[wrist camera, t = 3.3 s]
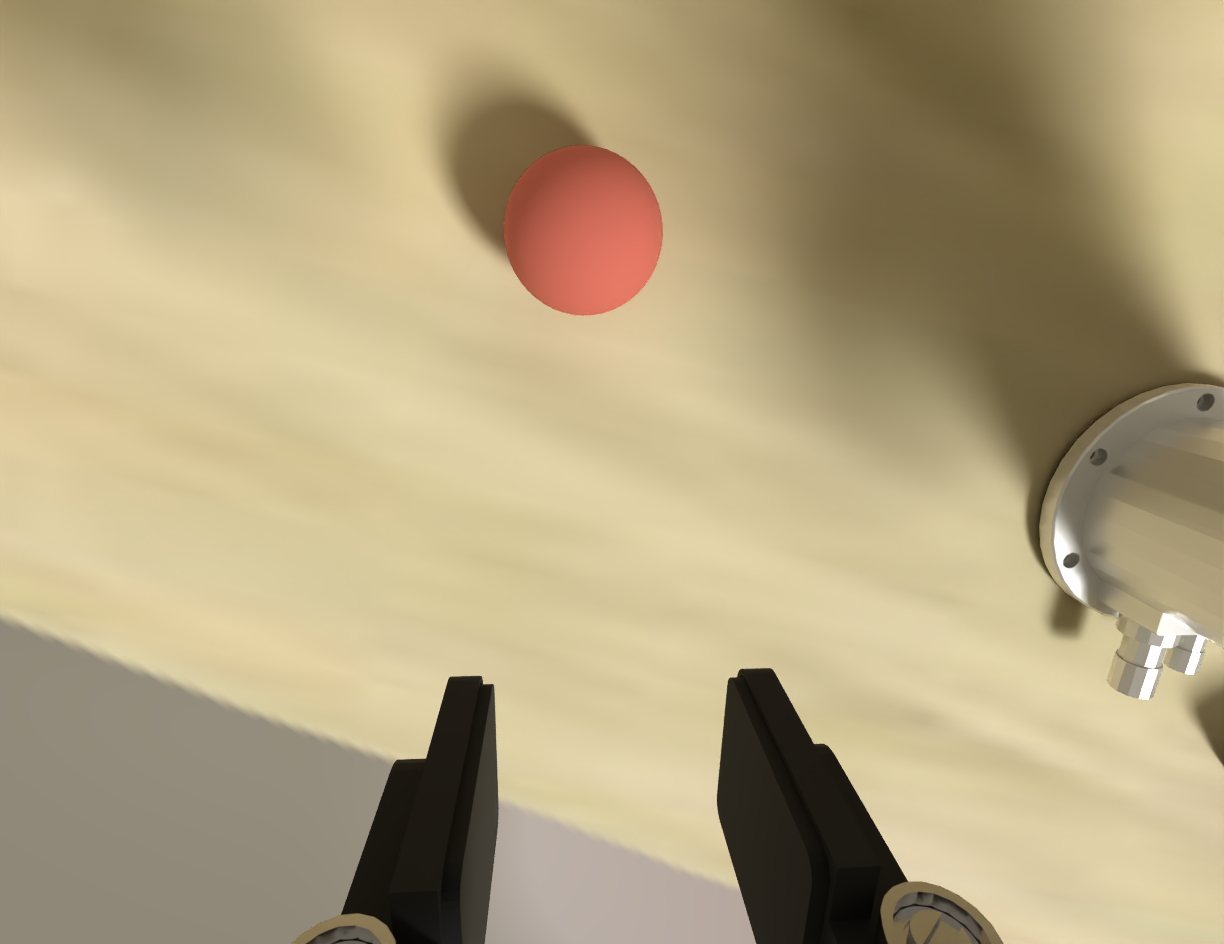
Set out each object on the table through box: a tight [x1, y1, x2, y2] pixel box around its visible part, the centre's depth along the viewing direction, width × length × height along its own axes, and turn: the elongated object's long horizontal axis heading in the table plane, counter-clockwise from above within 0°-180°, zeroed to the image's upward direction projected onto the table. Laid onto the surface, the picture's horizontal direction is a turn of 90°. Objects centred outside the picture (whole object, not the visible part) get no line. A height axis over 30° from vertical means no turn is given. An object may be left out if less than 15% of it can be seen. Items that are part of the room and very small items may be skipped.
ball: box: [504, 145, 663, 315], centre depth 24 cm, size 6×6×6 cm
